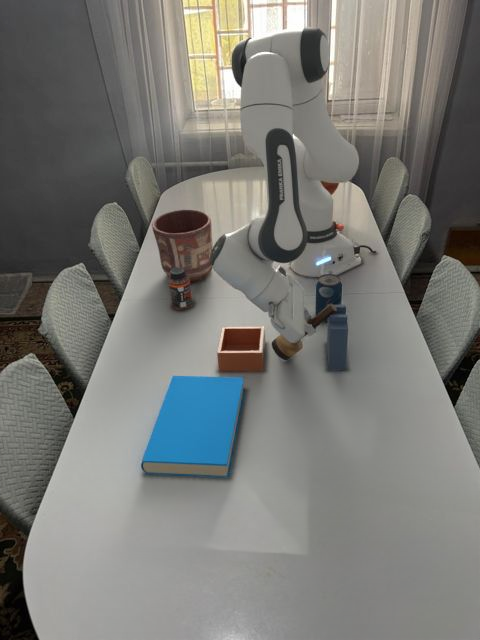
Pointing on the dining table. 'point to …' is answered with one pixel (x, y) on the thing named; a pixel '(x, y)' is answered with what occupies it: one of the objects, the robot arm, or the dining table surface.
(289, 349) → the brush
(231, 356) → the caddy
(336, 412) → the dining table surface
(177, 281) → the supplement bottle
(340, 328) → the stand
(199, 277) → the pottery
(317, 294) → the soda can
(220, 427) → the book
